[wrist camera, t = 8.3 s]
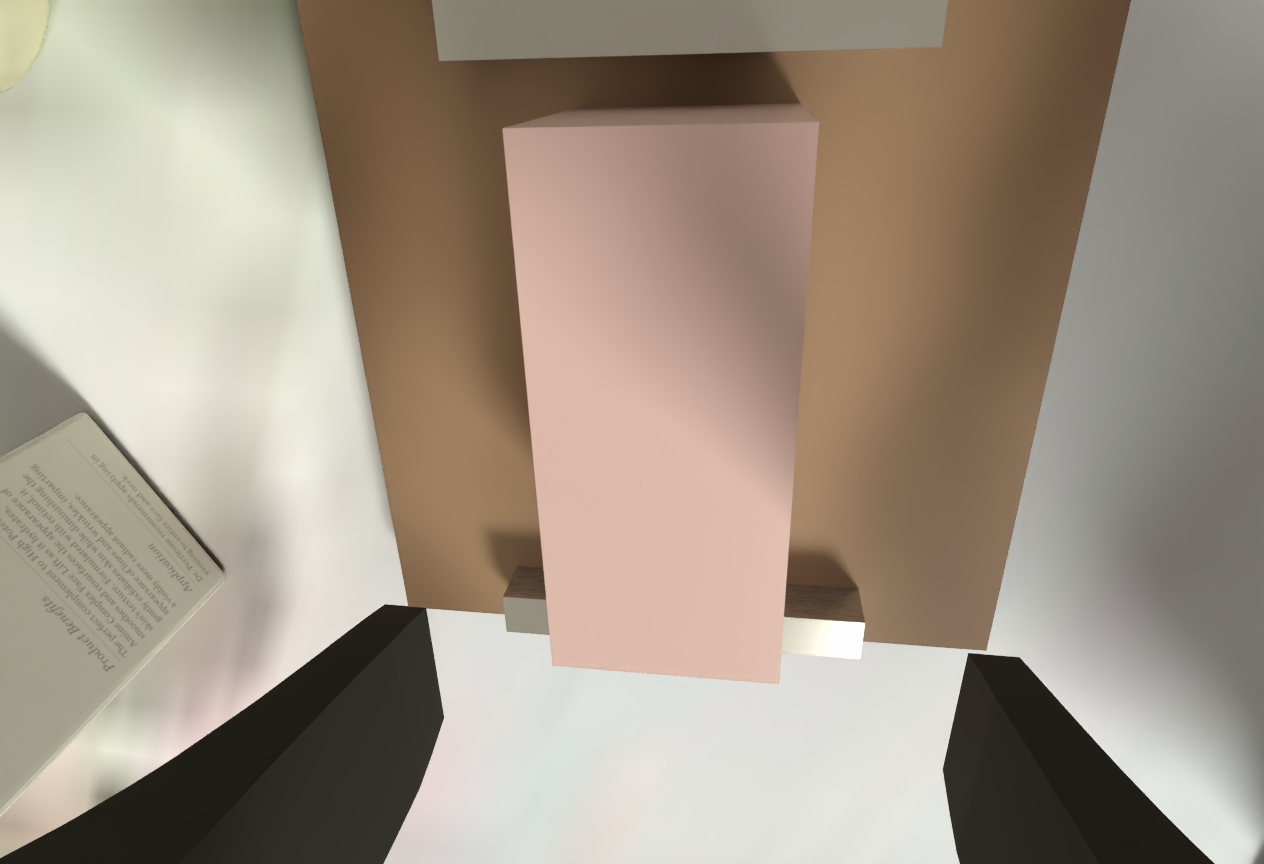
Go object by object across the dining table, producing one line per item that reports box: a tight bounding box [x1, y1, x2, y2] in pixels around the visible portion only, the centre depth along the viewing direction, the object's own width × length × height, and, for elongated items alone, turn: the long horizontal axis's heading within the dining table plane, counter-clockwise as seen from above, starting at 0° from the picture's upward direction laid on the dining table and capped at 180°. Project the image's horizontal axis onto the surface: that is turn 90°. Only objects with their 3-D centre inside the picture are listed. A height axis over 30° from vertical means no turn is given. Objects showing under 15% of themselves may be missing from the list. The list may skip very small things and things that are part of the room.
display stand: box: [296, 0, 1131, 659], centre depth 16 cm, size 14×14×3 cm
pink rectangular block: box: [502, 103, 819, 684], centre depth 14 cm, size 4×9×4 cm, turn 2°
